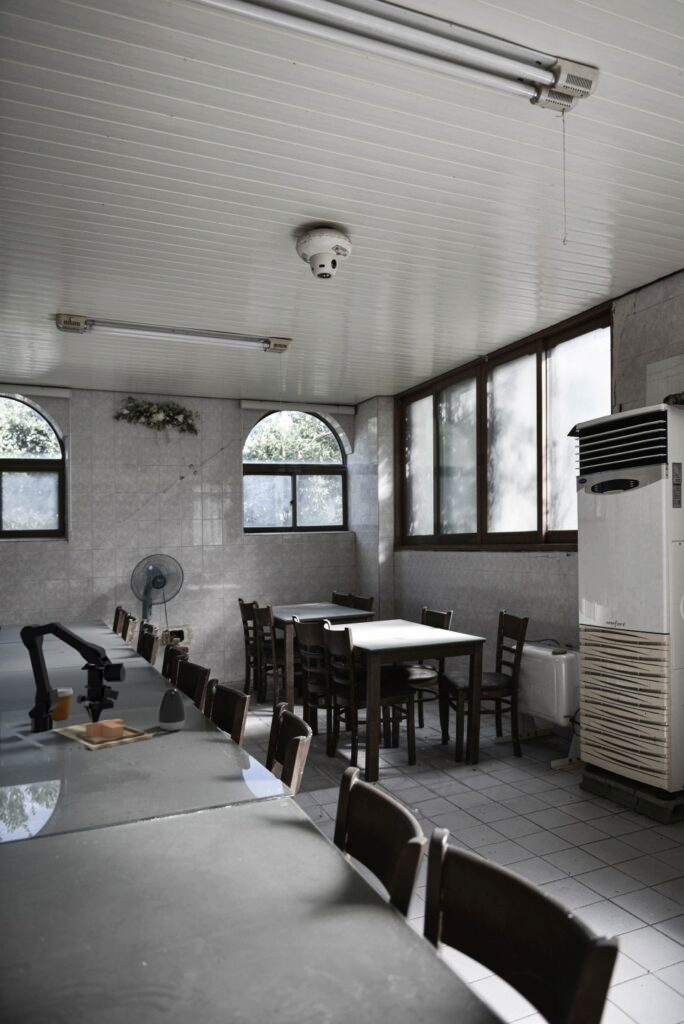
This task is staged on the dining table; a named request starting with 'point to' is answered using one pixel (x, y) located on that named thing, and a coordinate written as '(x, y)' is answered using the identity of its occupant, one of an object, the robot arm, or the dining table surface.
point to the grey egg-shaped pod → (171, 710)
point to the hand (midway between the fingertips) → (94, 725)
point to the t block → (105, 729)
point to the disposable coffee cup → (62, 704)
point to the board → (101, 741)
